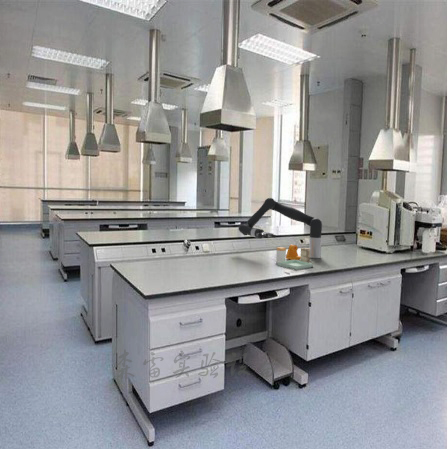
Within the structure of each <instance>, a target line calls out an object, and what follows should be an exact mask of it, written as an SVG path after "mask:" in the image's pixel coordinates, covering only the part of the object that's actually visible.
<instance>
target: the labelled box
mask: <svg viewBox="0 0 448 449" xmlns="http://www.w3.org/2000/svg"><path fill="white" fill-rule="evenodd" d="M286 254H287V248H286V247H283V246H279V247H276V255H275V256H276V257H275V258H276V261H275V263H276V264H278V262H282V261H287V259H286Z"/></svg>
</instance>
